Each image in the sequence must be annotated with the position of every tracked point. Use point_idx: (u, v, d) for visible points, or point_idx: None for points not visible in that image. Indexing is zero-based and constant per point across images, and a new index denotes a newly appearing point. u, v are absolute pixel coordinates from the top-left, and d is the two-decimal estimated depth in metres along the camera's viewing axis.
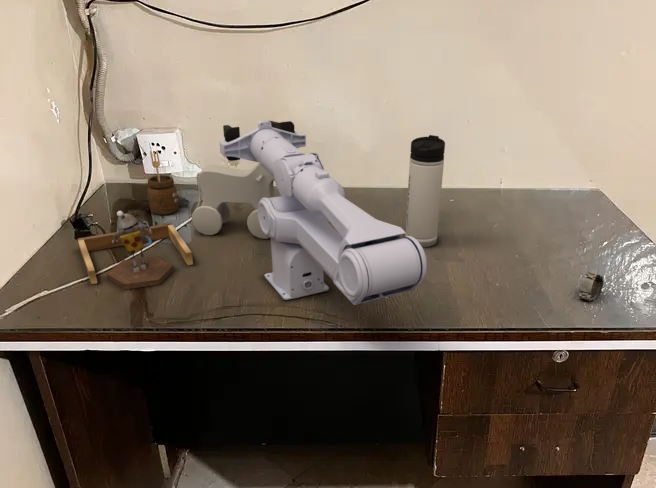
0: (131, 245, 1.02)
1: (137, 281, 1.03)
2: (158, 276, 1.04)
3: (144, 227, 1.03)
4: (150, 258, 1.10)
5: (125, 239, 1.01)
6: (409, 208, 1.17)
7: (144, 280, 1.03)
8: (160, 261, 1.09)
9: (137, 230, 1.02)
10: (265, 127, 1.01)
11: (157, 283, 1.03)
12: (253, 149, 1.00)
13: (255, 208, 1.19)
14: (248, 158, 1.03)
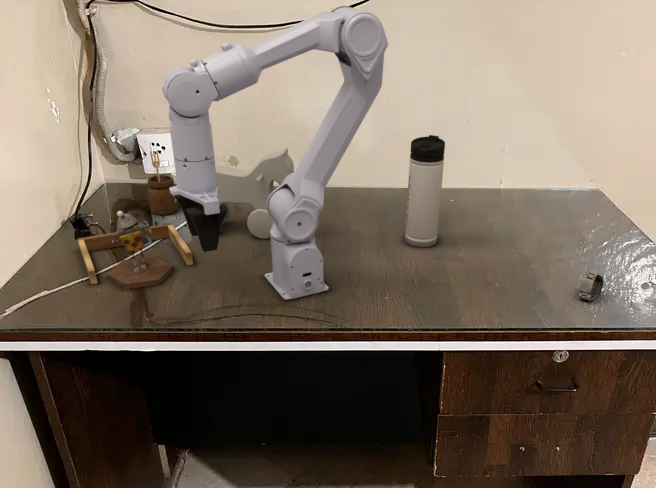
0: (131, 245, 1.02)
1: (137, 281, 1.03)
2: (158, 276, 1.04)
3: (144, 227, 1.03)
4: (150, 258, 1.10)
5: (125, 239, 1.01)
6: (409, 208, 1.17)
7: (144, 280, 1.03)
8: (160, 261, 1.09)
9: (137, 230, 1.02)
10: (176, 188, 0.91)
11: (157, 283, 1.03)
12: (199, 180, 0.89)
13: (255, 208, 1.19)
14: (216, 191, 0.91)
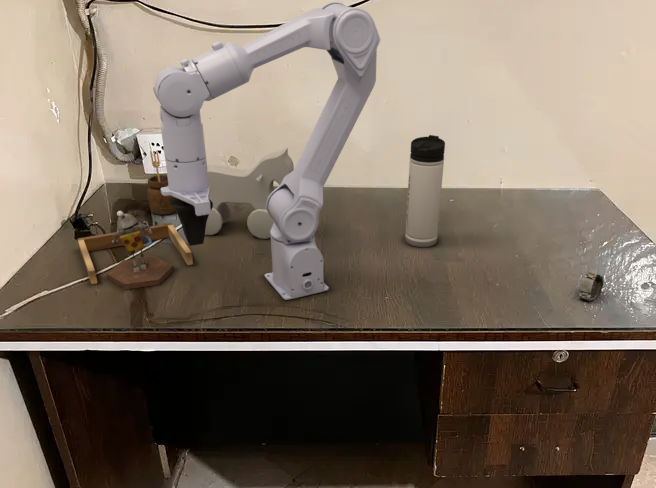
0: (131, 245, 1.02)
1: (137, 281, 1.03)
2: (158, 276, 1.04)
3: (144, 227, 1.03)
4: (150, 258, 1.10)
5: (125, 239, 1.01)
6: (409, 208, 1.17)
7: (144, 280, 1.03)
8: (160, 261, 1.09)
9: (137, 230, 1.02)
10: (168, 189, 0.90)
11: (157, 283, 1.03)
12: (190, 180, 0.88)
13: (255, 208, 1.19)
14: (207, 192, 0.90)
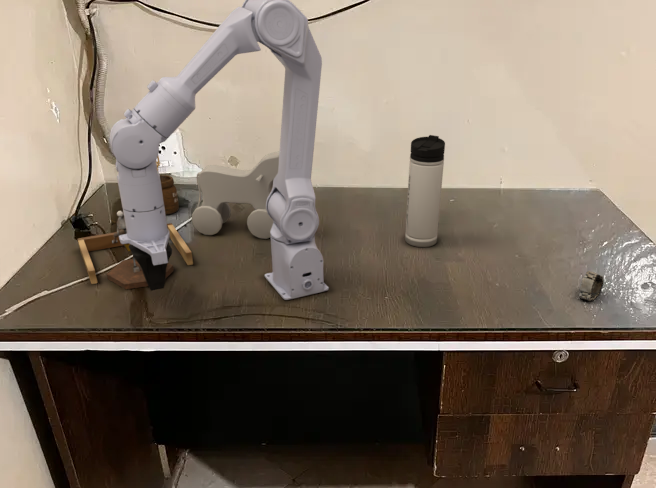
0: None
1: (137, 281, 1.03)
2: None
3: None
4: None
5: None
6: (409, 208, 1.17)
7: (144, 280, 1.03)
8: None
9: None
10: (126, 236, 0.91)
11: None
12: (148, 229, 0.89)
13: (255, 208, 1.19)
14: (165, 239, 0.90)
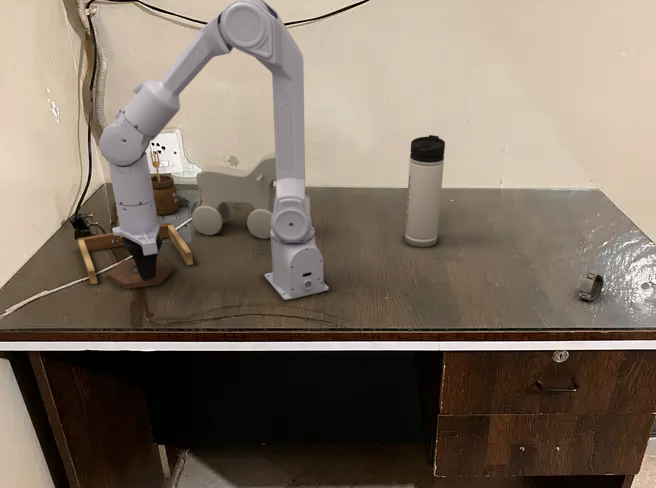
0: None
1: (137, 281, 1.03)
2: (158, 276, 1.04)
3: None
4: None
5: None
6: (409, 208, 1.17)
7: (144, 280, 1.03)
8: (160, 261, 1.09)
9: None
10: (119, 229, 0.97)
11: (157, 282, 1.03)
12: (139, 222, 0.95)
13: (255, 208, 1.19)
14: (156, 232, 0.97)
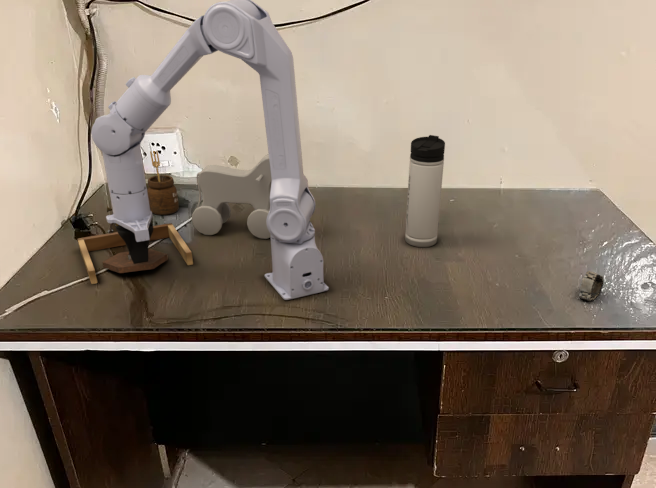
0: None
1: (131, 265, 1.05)
2: (152, 261, 1.06)
3: None
4: None
5: None
6: (409, 208, 1.17)
7: (138, 264, 1.05)
8: (155, 252, 1.11)
9: None
10: (112, 217, 1.01)
11: (151, 267, 1.05)
12: (132, 210, 0.99)
13: (255, 208, 1.19)
14: (148, 219, 1.01)
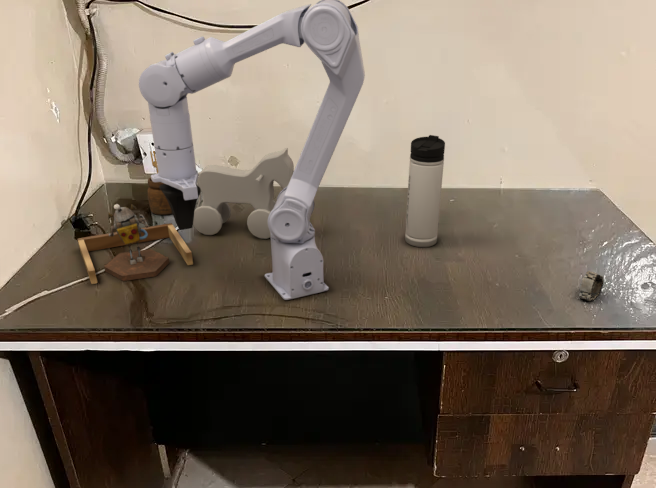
0: (128, 238, 1.04)
1: (134, 273, 1.05)
2: (155, 268, 1.07)
3: (140, 220, 1.05)
4: (146, 251, 1.12)
5: (122, 232, 1.04)
6: (409, 208, 1.17)
7: (141, 272, 1.05)
8: (156, 254, 1.11)
9: (134, 223, 1.04)
10: (157, 176, 0.96)
11: (154, 274, 1.06)
12: (179, 167, 0.94)
13: (255, 208, 1.19)
14: (195, 178, 0.95)
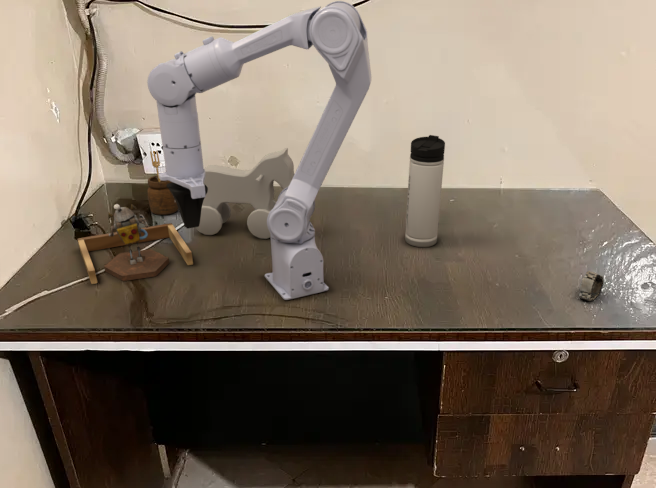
0: (128, 238, 1.04)
1: (134, 273, 1.05)
2: (155, 268, 1.07)
3: (140, 220, 1.05)
4: (146, 251, 1.12)
5: (122, 232, 1.04)
6: (409, 208, 1.17)
7: (141, 272, 1.05)
8: (156, 254, 1.11)
9: (134, 223, 1.04)
10: (165, 174, 0.96)
11: (154, 274, 1.06)
12: (186, 166, 0.94)
13: (255, 208, 1.19)
14: (202, 177, 0.96)
